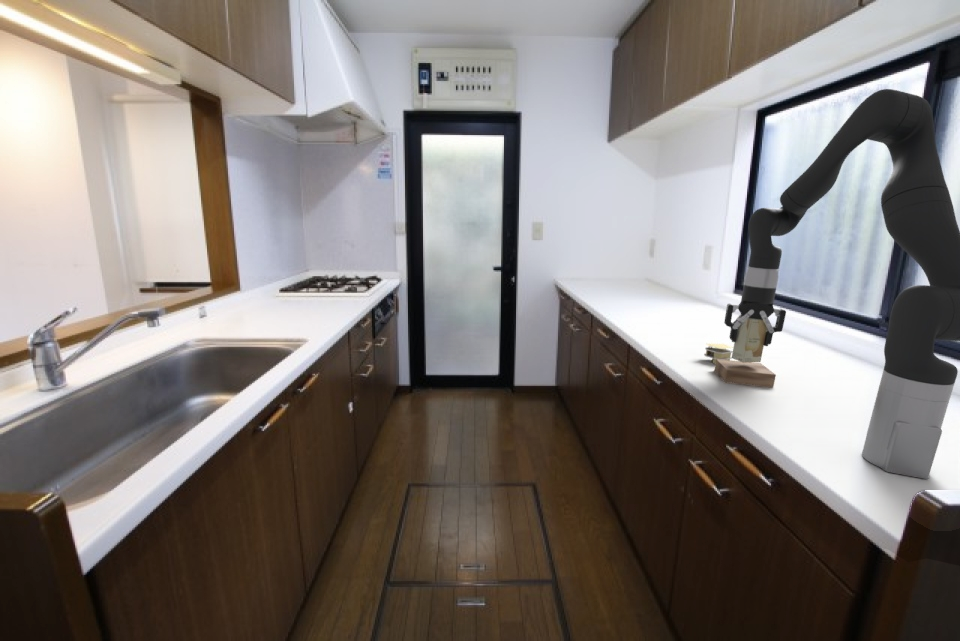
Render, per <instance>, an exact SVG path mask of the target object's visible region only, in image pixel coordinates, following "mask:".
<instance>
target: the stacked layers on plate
mask: <svg viewBox="0 0 960 641" xmlns="http://www.w3.org/2000/svg"><path fill="white" fill-rule="evenodd" d="M706 346H708V347H705V353H704V357H707V358H709V359H711V361H712V363H713V364H715V363H716V359H720V360H732V359H733V358H732V353H733V350H730V349H733V348H734V346H731V345H727V344H724V343H706Z"/></svg>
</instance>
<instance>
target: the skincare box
mask: <svg viewBox="0 0 960 641" xmlns="http://www.w3.org/2000/svg"><path fill="white" fill-rule="evenodd" d="M738 317H739V316H738ZM739 318H741V317H739ZM766 322H767V321H766ZM737 330H738V331H737V337H736V342H733V343H734V344H733V347H734V348H732V351H733V352H732V353H731V358H732V359H733V360H734V361H740V362H743V363H746V362H752V363H761V361H762V355H763V350H764V347H765V346H764V342H765V337H766V332H767V327H766V326H765V324H764V321H763V320H760V319H753V318H746V319H745V322H744V323H742V324H741V325H740V326H739V327H738V328H737Z"/></svg>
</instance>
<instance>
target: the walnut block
mask: <svg viewBox="0 0 960 641" xmlns="http://www.w3.org/2000/svg"><path fill="white" fill-rule="evenodd" d="M713 369H714V373H715V374H717V375H718V377H719V378H720V379H721V381H723V382H724V383H726V384H736V385H746V386H756V387H765V388H774V387H775V386H774V385H775V380H776V376H777V375H776V373H775V372H773V371H772V370H770V369H769V368H768V367H766V366H765V365H764V364H762V363H761V362H746V363H743V362H740V361H738V360H732V359H730V360H720V359H716V363H715V365H714V368H713Z"/></svg>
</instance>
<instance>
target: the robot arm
mask: <svg viewBox="0 0 960 641" xmlns="http://www.w3.org/2000/svg"><path fill="white" fill-rule="evenodd" d="M934 124H935V123H934V115H933V110H932V107H931V105H930V103H929V101H928V100H926V99H925V98H923V97H922V96H920V95H917V94H912V93H909V92H905V91H901V90H897V89H893V88H892V89H890V88H884V89H880V90H877V91H875V92H873V93H871V94H870V95H869V96H868V97H866V98H865V99H864V100H862V102H861V103H860V104H859V105H858V106H857V107H856V108H855V109H854V110H853V112H852V113H851V115H849V117H848V118H846V121H845V122H844V123H843V124H842V125H841V127H840V128H839V129H838V131H837V132H836V133H835V135H833V137H832V138H831V139H830V140H829V142H828V143H827V145H826V146H825V148H823V150H822V151H821V152H820V154H819V155H818V157H816V159H815V160H814V161H813V162H812V164H811V165H810V166H808V167H807V169H805V171H804V172H803V173H801V175H799V176H798V178H797V179H795V180H794V181H793V182H792V183H791V184H790V185H789V186H788V187H787V188H786V189H785V190H784V191H783V192H782V193H781V195H780V197H779V202H780V205H781V207H780V208H778V207H777V208H776V207H775V208H774V207H773V208H772V207H761V208H757V210H755V211H754V212H753V213H752V215H751V216H750V218H749V220H748V224H747V225H748V228H747V229H748V230H747V231H748V238H749V239H748V240H749V248H750V255H749V261H748V265H747V269H746V273H745V277H744V280H743V288H742V294H741V299H740V303H739V304H731V303H727V305H726V310H725V316H724V322H723V323H724V324H725V326H726V327H729V328H730V332H729V337H728V338H729V339H730V340H731V342H732V343H734V342H736V337H737V331H738V330H737V328H738V327H739V326H740V325H741V324H742V323H744V322H745V319H746V318H753V319H760V320H763V321H764V324H765V326H766V327H767V332H766V337H765V342H764V347H768V346H769V345H771V344H772V341H773V335H774V333H777V332H778V333H780V332H783V328H784V324H785V320H786V313H787V311H786V310H785V309H784V308H774V303H775V297H776V292H777V286H778V281H779V271H780V264H781V259H782V252H783V251H782V248H781V247H780V246H778V245H777V246H776V245H774V244H773V241H772V240H773V239H772V237H781V236H785V235H787V234H789V233H790V232H792V231H793V230H794V229H796V227H797V226H798V225H799V223H800V222H801V220H803V217H804V216H805V215H806V213H807V212H808V209H810V208H811V207H813V206H814V205H815V204H816V203H817V202H819V201H821V199H822V198H823V197H825V196H826V195H827V194H828V193H829V191H830V190H832V188H833V187H834V185H835V184H836V182H837V180H838V178H839V174H840V172H841V169H842V166H843V164H844V163H845V161H846V159H847V157H849V155H850V154H851V153H852V152H853V151H855V149H857V148H858V147H859V146H860V145H861V144H863V143H864V142H866V141H869V140H870V141H872V142H876V143H877V142H878V143H881V144H884V145H885V146H886V148H887V149H888V152H889V155H890V159H891V162H892V171H891V172H892V173H891V174H890V176H889V179H888V180H887V181H886V184H885V186H884V188H883V190H882V193H881V195H880V203H881V204H880V206H881V211H882V214H883V219H884V224H885V228H886V230H887V232H888V233H889V235H890V237H891V238H892V239H893V240H894V242H896V244H897V245H898V246H899V247H900V248H901V249H903V251H904V252H905V253H907V255H909V256H910V257H911V258H912V259H913V261H915V262H916V263H917V264H918V265H919V266H920V268H921V269H922V270H923V272H924V273H925V276H926V278H927V281H928V283H929V285H928V284H927V285H920V284H917V285H911V286H908V287H906V288H904V289H903V290H902V291H900V293H899V294H898V295H897V297H896V298H895V300H894V302H893V305H892V308H891V311H890V314H889V320H888V326H887V330H886V331H887V333H886V337H885V342H884V348H883V352H884V354H883V355H884V366H883V369H882V373H881V374H882V375H881V377H880V378H881V379H880V382H879V385H878V389H877V392H876V397H875V402H874V404H873V408H872V413H871V416H870V420H869V424H868V427H867V432H866V436H865V440H864V444H863V448H862V451H861V455H862V457H863V458H864V460H866V461H867V462H870V463H871V464H872V465H874V466H877V467H879V468H880V469H882V470H883V471H884V472H887V473H891V474H892V473H893V474H896V475H897V474H898V475H902V476H903V475H904V476H908V477H915V478H920V479H924V480H925V479H926V480H929V476H930V473H931V471H932V466H933V464H934V460H935V457H936V453H937V450H938V446H939V444H940V440H941V437H942V434H943V430H942V426H943V424H944V419H945V416H946V413H947V409H948V406H949V403H950V401H951V396H952V392H953V389H954V388H955V387H954V386H955V383H956V379H957V376H958V372H959V371H958V368H957V366H956V365H955V364H953V363H951V362H948V361H946V360H943V359H942V358H939V357H937V356H936V355H935V352H934V350H935V342H936V341H947V342H950V341H951V342H953V341H954V342H960V228H959V225H958V222H957V218H956V213H955V208H954V205H953V201H952V198H951V195H950V191H949V188H948V184H947V182H946V180H945V176H944V175H945V174H944V172H943V168H942V167H943V166H942V164H941V159H940V156H939V153H938V150H937V145H936V144H937V143H936V135H935V132H936V131H935V125H934ZM736 310H738V312H739V313H740V314H739V315H738V316H737V317H736V319H735V320H734V321H733V322H732V317H733V314H734V313H735V312H736ZM773 314H774V316H775V317H776V320H775V324H774V326H773V325H772V323H771V322H770V320H769V317H770V316H771V315H773ZM739 317H741V318H739ZM766 321H767V322H766Z"/></svg>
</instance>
